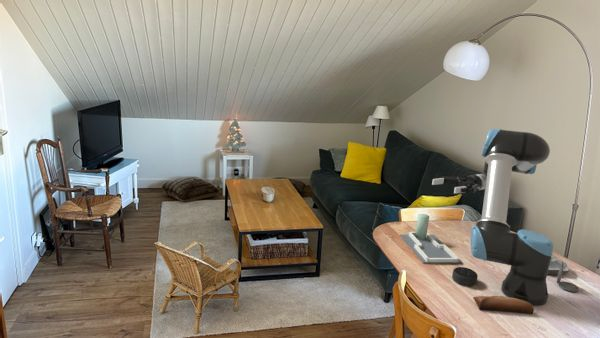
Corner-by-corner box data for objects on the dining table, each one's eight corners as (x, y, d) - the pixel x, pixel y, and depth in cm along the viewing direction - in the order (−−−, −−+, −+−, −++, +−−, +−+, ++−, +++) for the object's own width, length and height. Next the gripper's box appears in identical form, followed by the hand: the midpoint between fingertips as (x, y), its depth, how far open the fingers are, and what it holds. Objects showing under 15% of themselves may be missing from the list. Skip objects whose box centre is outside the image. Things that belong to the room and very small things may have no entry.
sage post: (427, 240, 201) (431, 217, 198) (417, 240, 200) (420, 217, 197) (423, 235, 205) (426, 213, 203) (413, 235, 205) (416, 213, 202)
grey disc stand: (582, 293, 163) (588, 269, 161) (559, 291, 163) (565, 267, 161) (569, 282, 171) (575, 259, 169) (548, 280, 171) (553, 257, 169)
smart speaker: (460, 288, 162) (462, 278, 161) (447, 276, 170) (448, 267, 169) (481, 286, 164) (483, 276, 163) (466, 274, 172) (468, 265, 171)
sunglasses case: (522, 301, 155) (529, 291, 150) (527, 320, 150) (536, 310, 145) (470, 297, 156) (476, 287, 151) (475, 315, 151) (481, 306, 146)
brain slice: (560, 262, 189) (561, 255, 188) (570, 280, 173) (572, 273, 173) (511, 253, 195) (512, 247, 194) (516, 270, 179) (518, 263, 178)
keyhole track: (462, 263, 181) (463, 259, 181) (423, 263, 179) (423, 259, 178) (433, 235, 208) (434, 231, 207) (399, 235, 206) (400, 231, 205)
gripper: (496, 197, 201) (463, 202, 191) (455, 182, 222) (423, 186, 212) (499, 182, 199) (466, 186, 189) (457, 168, 220) (425, 171, 211)
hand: (443, 186), depth 201 cm, fingers open, 13 cm apart
